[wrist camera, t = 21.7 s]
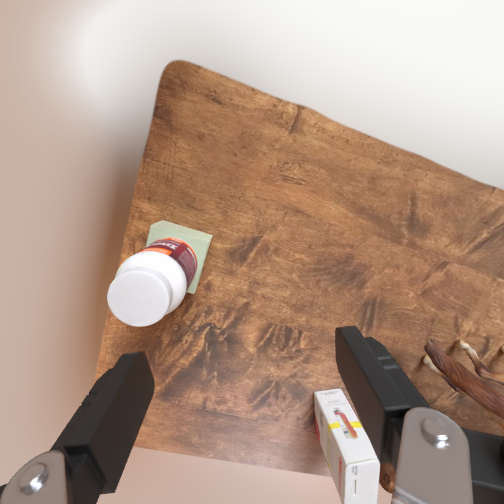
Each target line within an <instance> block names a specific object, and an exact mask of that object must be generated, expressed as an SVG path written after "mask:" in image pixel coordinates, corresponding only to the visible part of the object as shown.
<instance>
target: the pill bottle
mask: <svg viewBox="0 0 504 504" xmlns="http://www.w3.org/2000/svg"><path fill="white" fill-rule="evenodd" d="M197 266H198V260H197V256H196V253H195V251H194V249H193V248H192V247H191V246H190V245H189V244H188V243H187V242H185V241H184V240H182V239H179V238H175V237H166V238H161V239H159V240H157V241H155V242H153V243H152V244H150V245H148V246H147V247H145V248H144V249H142V250H140V251H139V252H137V253H135V254H134V255H132V256H131V257H129V258H128V259H127V260H126V261H124V262H123V264H122V265H121V266H120V267H119V269H118V271H117V273H116V277H115V280H114V281H113V282H112V283H111V285H110V287H109V290H108V294H107V300H108V305H109V307H110V310H111V311H112V313H113V314H114V315H115V316H116V317H117V318H118V319H119V320H120V321H122V322H124V323H126V324H128V325H131V326H136V327H144V326H149V325H152V324H154V323H156V322H158V321H159V320H160V319H162V318H163V316H164V315H167V314H169V313H170V312H172V311H173V310H174V309H176V308H177V307H178V306H179V305H180V303H181V302H182V300H183V298H184V296H185V294H186V292H187V290H188V288H189V286H190V284H191V282H192V280H193V278H194V276H195V274H196V271H197Z"/></svg>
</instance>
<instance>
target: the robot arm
mask: <svg viewBox="0 0 504 504" xmlns="http://www.w3.org/2000/svg"><path fill="white" fill-rule="evenodd" d="M335 345H336V363H337V367H338V370H339V373H340V375H341V378H342V380H343V382H344V384H345V387H346V389H347V391H348V393H349V396H350V398H351V400H352V402H353V404H354V407H355V409H356V411H357V413H358V416H359V418H360V420H361V422H362V425H363V427H364V429H365V431H366V434H367V436H368V438H369V440H370V442H371V445H372V447H373V449H374V451H375V454H376V456H377V458H378V460H379V463H380V464H384V463H392V465H393V467H394V469H395V471H396V477H395V484H394V490H393V495H392V501H391V504H504V436H498V435H493V434H487V433H482V432H477V431H472V430H468V429H464V428H461V427H459V426H458V425H457V424H456V423H455V422H454V421H453V420H452V419H450V418H449V417H448V416H446V415H444V414H443V413H441V412H439V411H437V410H434V409H432V408H431V407H430V406H429V405H428V403H427V402H426V401H425V399H424V398H423V397H422V395H421V394H420V393H419V391H418V390H417V389H416V387H415V386H414V385H413V383H412V382H411V381H410V379H409V378H408V377H407V376H406V374H405V373H404V372H403V370H402V369H401V368H399V365H398V364H397V362H396V361H395V360H394V359H393V358H392V356H391V354H390V353H389V352H388V350H387V349H386V348H385V346H384V345H382V344H381V343H380V342H378V341H377V340H375V339H374V338H372V337H367V338H364V337H363V336H362V334H361V333H360V331H359V330H358V328H357V327H356V326H346V327H338V328H336V330H335ZM154 387H155V383H154V378H153V375H152V372H151V369H150V366H149V363H148V361H147V358H146V355H145V353H144V352H134V353H126V354H123V355H122V356H121V357H120V358H119V360H118V361H117V363H116V365H115V366H114V368H112V369H109V370H108V371H107V372H106V373H104V374H103V375H102V376H101V377H100V378H99V379H98V380H97V381H96V383H95V384H94V386H93V387H92V389H91V390H90V392H89V395H87V396H86V398H85V399H84V401H83V402H82V405H81V406H80V407H79V408H78V409H77V411H76V412H75V414H74V415H73V417H72V419H71V420H70V421H69V423H68V424H67V426H66V427H65V429H64V430H63V432H62V433H61V435H60V436H59V437H58V439H57V441H56V442H55V443H54V445H53V446H52V448H51V449H50V451H47V452H45V453H42V454H40V455H38V456H36V457H35V458H33V459H32V460H30V461H29V462H28V463H26V464H25V465H24V466H23V467H22V468H21V469H19V470H18V471H17V472H16V474H15V475H14V476H13V477H12V478H11V479H10V481H9V482H8V483H7V484H5V485H2V486H0V504H96V503H97V500H98V498H99V496H100V494H107V493H115V490H116V488H117V485H118V483H119V480H120V478H121V475H122V473H123V470H124V467H125V465H126V463H127V460H128V457H129V455H130V452H131V450H132V447H133V445H134V442H135V440H136V437H137V435H138V432H139V430H140V427H141V424H142V422H143V419H144V417H145V414H146V412H147V409H148V407H149V404H150V402H151V399H152V397H153V393H154Z"/></svg>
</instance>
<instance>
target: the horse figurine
mask: <svg viewBox="0 0 504 504" xmlns="http://www.w3.org/2000/svg"><path fill="white" fill-rule="evenodd" d="M424 348H425V351H426V353H427V354H428V355H426V356H425V357H424V359H423V362H424V363H425V364H426V365H429V366H428V367H429V368H430V370H432V371H434V372H436V373H437V374H438V375H440V376H441V377H442V378H443V379H444V380H446V381H447V382H448V384H449V385H450V386H451V387H452V388H453V389H454V390H455V391H456V392H459V393H462V394H464V395H466V396H468V397H470V398H471V399H473V400H474V401H475V402H476V403H478V404H479V405H480V406H482V407H483V408H485V409H486V410H487V412H488V413H489V414H490V415H491V417H492V418H493V419H494V420H495V421H496V422H497V423H498V424H499V425H500V426H501V427H502V428H503V429H504V397H503V396H501V395H500V394H499V393H498V392H496V391H495V390H494V389H492V388H491V387H490V386H488V385H487V384H486V383H484V382H482V381H481V380H479V379H478V378H477V377H476V376H475V375H473V374H472V373H471V372H470V371H468V370H467V369H466V368H465V367H464V366H463V365H462V364H460V363H458V362H457V361H455V360H453V359H451V358H450V357H449V356H448V355H447V354H445V353H444V351H443V350H442V349H441V348H440V347H439V345H438V344H437V342H436V340H435V338H433V339H431V341H428V342H427V344H426V345H425V347H424ZM458 348H461V349H463V350H465V351H467V352H466V353H467V355H468V356H469V357H470V359H471V360H472V362H473V364H474V366H475V371H476V373H477V374H478V375H479V376H480V377H482V378H485V379H489V380H492V381H496V382H498V383H500V384H502V385H504V374H503V373H495V372H493V371H491V370H489V369H488V368H487V367H486V366H484V365H483V364H482V362H481V361H480V360H479V358H478V356H477V353H476V352H475V351H474V350H473V349H472V348H471V347H470V346H469V345H468V344H467V343H465V342H464V341H463V340H462V339H460V340H459V341H458ZM501 351H503V353H504V346H502V347H501Z"/></svg>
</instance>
